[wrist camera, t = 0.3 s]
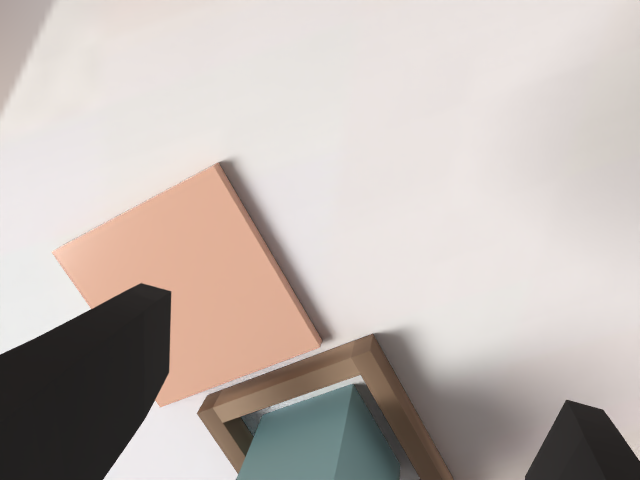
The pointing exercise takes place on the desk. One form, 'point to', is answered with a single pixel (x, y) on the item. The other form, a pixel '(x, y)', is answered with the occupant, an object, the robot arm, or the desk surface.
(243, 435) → the pocket frame
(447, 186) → the desk surface
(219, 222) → the terracotta tile
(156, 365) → the robot arm
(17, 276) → the desk surface
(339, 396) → the teal block
